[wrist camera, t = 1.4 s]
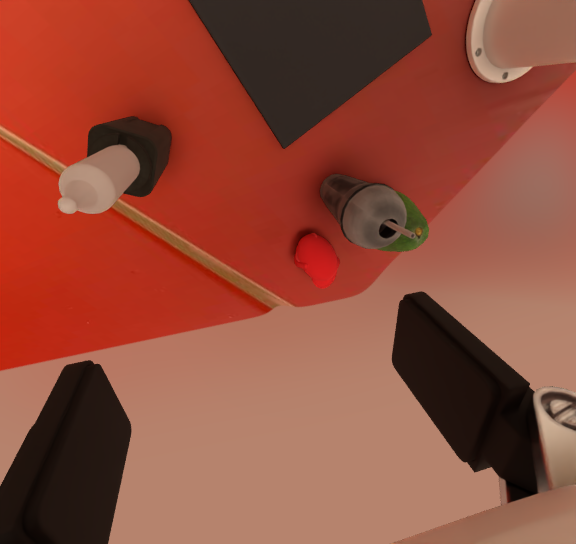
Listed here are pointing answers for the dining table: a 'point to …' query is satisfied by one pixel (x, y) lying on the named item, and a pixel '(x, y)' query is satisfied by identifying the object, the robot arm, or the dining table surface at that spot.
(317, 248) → the red animal figurine
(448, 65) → the dining table surface
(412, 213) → the fruit
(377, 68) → the mat
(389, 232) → the beverage cup
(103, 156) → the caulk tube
